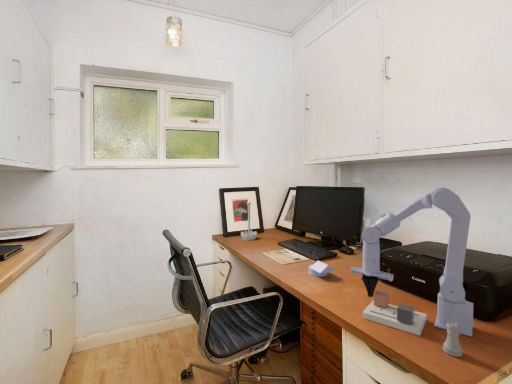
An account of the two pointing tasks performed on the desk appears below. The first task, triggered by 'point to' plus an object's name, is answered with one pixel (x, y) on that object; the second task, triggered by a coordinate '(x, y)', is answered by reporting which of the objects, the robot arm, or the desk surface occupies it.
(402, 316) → the charcoal fader
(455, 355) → the rook chess piece
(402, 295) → the desk surface
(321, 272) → the wedge on round base
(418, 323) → the fader console
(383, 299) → the brick fader
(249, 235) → the flag stand
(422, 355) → the desk surface
